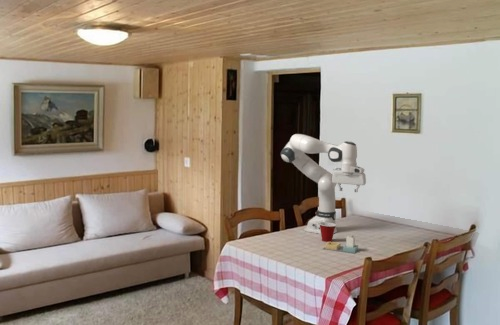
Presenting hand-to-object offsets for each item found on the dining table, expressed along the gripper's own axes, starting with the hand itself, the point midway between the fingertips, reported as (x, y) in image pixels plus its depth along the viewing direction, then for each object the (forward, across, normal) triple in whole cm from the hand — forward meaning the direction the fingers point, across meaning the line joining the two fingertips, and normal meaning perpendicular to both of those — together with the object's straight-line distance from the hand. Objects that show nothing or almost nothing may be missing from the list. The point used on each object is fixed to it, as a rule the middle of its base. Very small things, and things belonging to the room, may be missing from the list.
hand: (348, 191), depth 312 cm
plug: (+33, +5, -10) cm, 35 cm away
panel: (+34, 0, -10) cm, 36 cm away
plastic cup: (+34, -14, +4) cm, 37 cm away
